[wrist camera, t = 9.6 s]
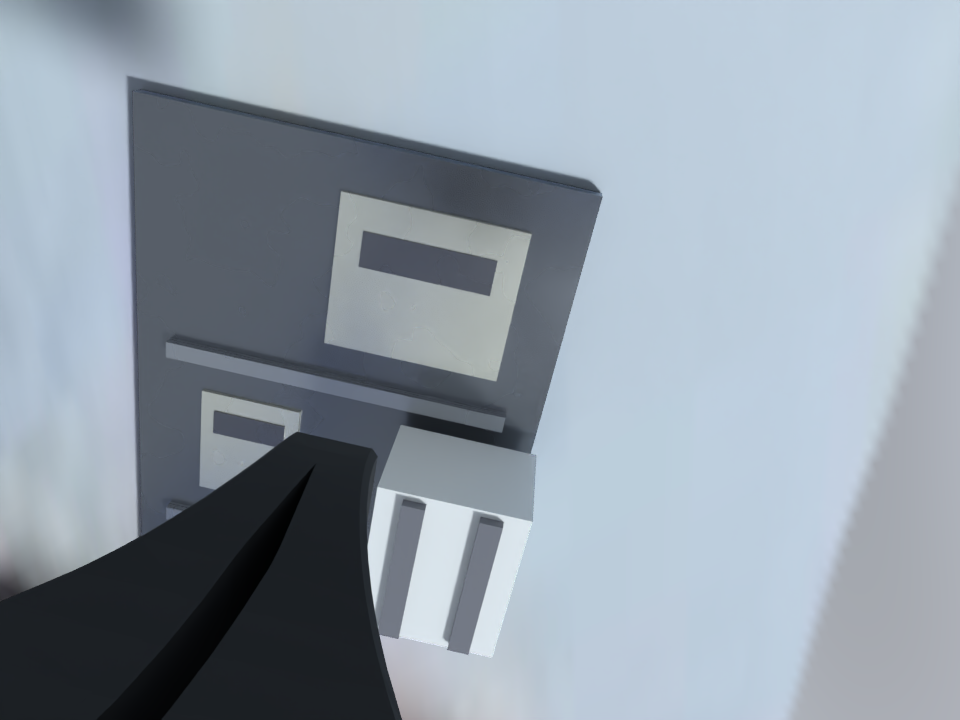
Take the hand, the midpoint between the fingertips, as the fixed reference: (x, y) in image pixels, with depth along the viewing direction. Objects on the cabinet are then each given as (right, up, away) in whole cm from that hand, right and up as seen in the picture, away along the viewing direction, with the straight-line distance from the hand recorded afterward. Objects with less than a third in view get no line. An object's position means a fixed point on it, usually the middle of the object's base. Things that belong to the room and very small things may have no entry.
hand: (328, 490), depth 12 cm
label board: (-2, +1, +10) cm, 11 cm away
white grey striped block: (+2, -2, +11) cm, 12 cm away
